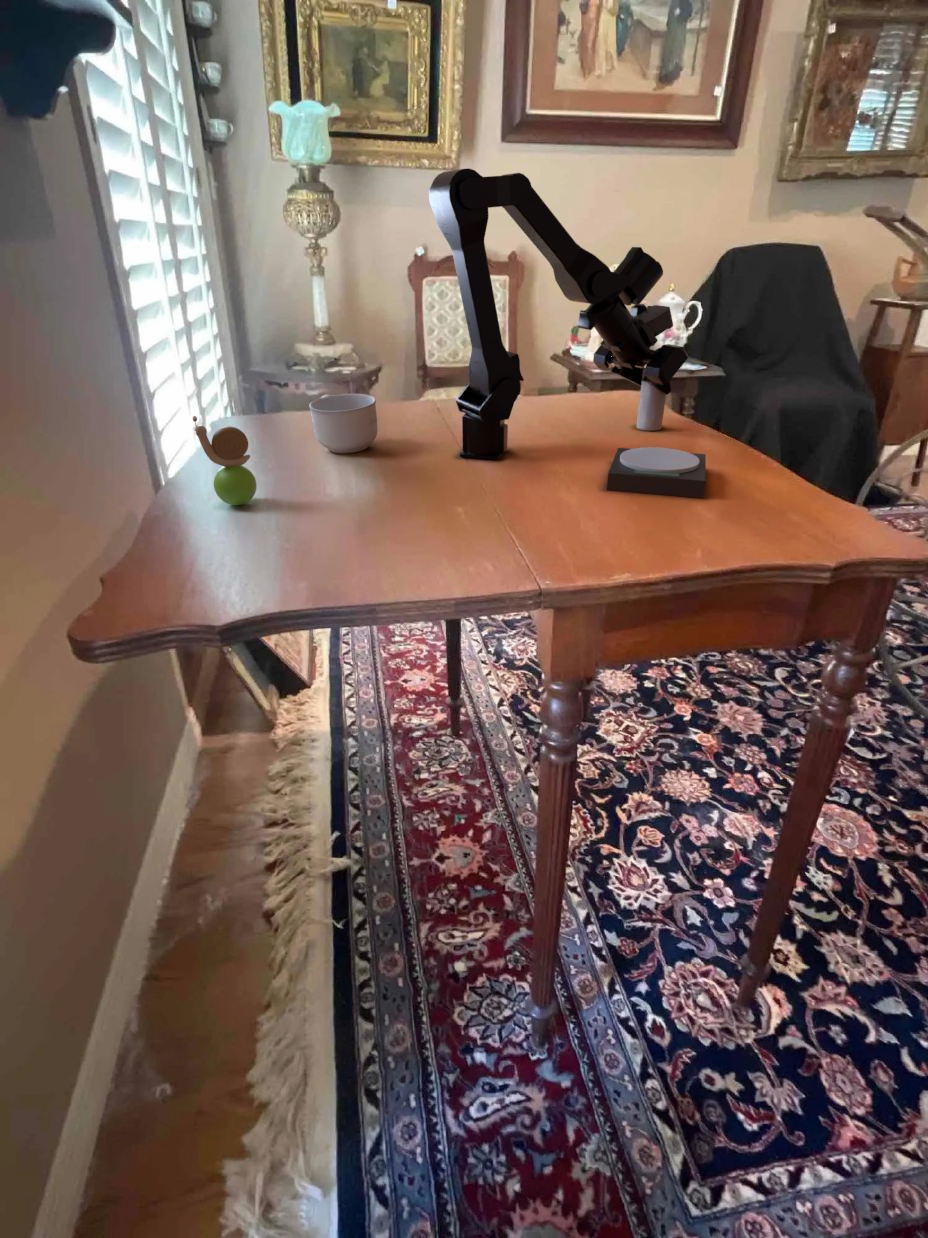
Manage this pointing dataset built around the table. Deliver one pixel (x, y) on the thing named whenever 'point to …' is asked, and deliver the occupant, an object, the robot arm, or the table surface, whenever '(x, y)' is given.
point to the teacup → (344, 421)
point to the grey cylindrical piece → (650, 407)
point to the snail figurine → (229, 463)
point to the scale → (658, 472)
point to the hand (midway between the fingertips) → (659, 390)
